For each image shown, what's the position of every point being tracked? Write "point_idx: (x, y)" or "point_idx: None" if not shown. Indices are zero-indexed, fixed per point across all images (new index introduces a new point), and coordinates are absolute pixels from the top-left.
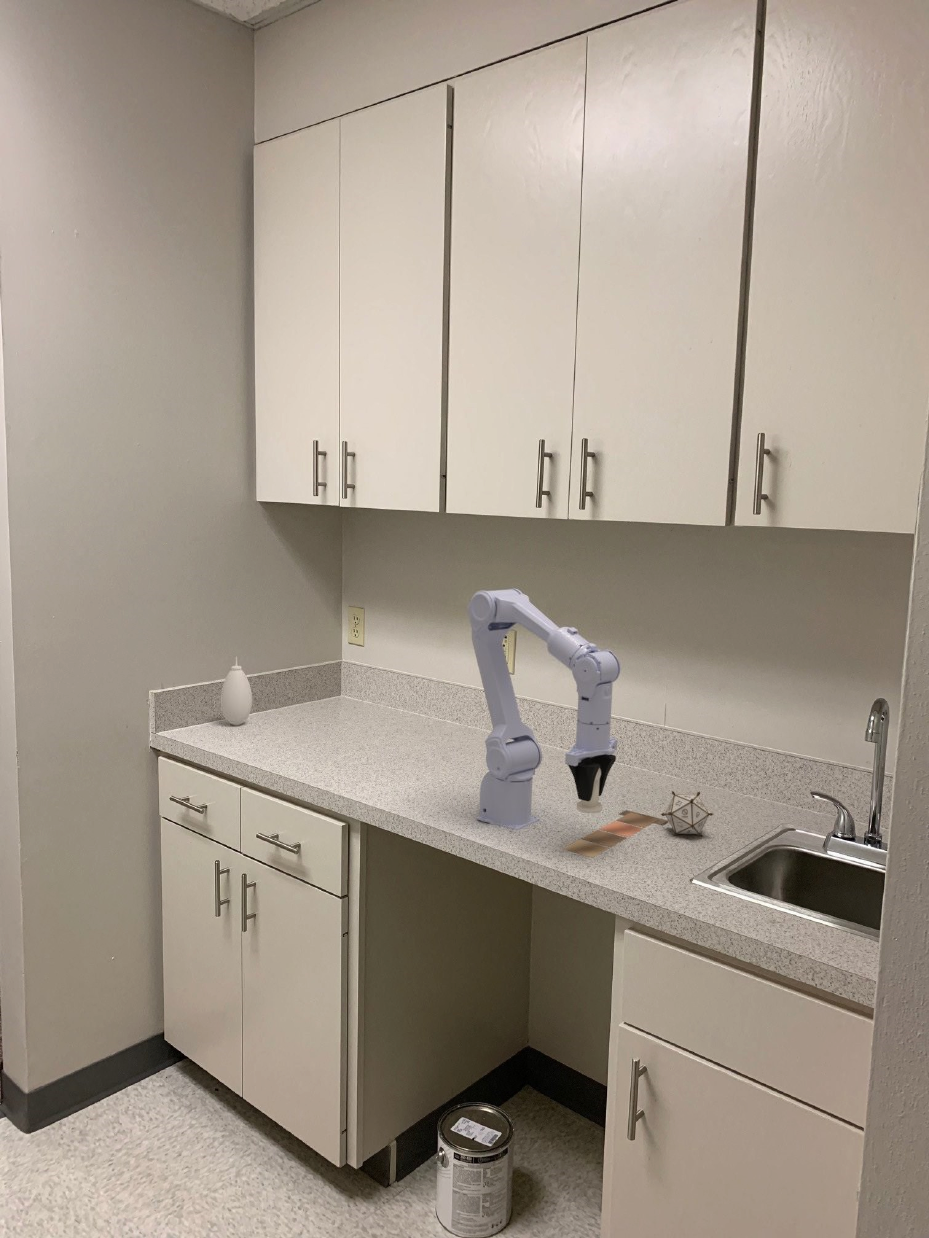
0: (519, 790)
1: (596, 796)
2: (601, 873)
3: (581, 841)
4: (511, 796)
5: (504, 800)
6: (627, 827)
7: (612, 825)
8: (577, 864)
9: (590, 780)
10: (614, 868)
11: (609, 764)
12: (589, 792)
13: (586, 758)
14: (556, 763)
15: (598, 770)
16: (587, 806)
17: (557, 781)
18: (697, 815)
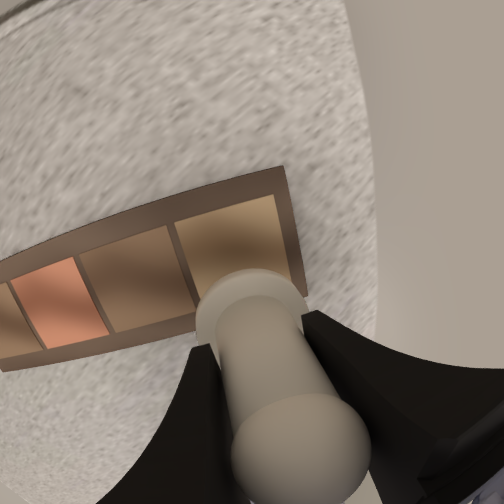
0: None
1: (267, 323)
2: (320, 115)
3: None
4: None
5: None
6: (39, 305)
7: (66, 333)
8: (325, 193)
9: (411, 357)
10: (266, 114)
11: (190, 496)
12: (345, 328)
13: (478, 487)
14: (47, 497)
15: (315, 449)
16: (289, 310)
17: (69, 481)
18: None
